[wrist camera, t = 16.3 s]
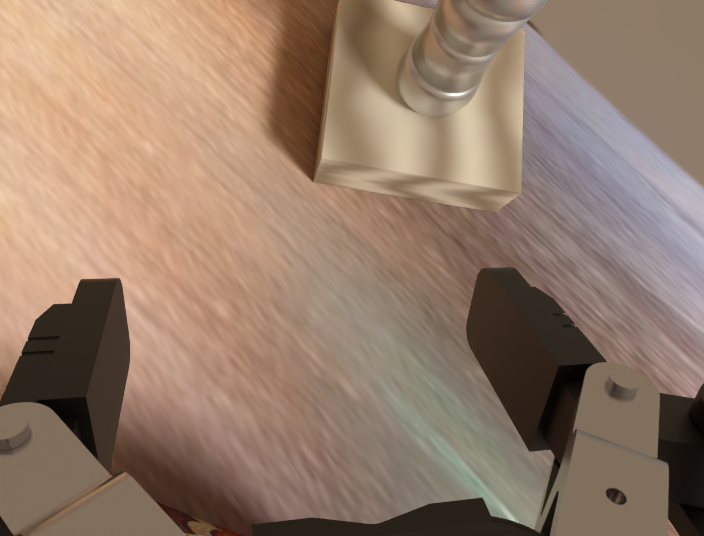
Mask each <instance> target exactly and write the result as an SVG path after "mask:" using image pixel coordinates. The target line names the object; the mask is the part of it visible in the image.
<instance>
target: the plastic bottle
mask: <svg viewBox="0 0 704 536" xmlns="http://www.w3.org/2000/svg"><path fill="white" fill-rule="evenodd" d="M547 1H548V0H438V2H437V5H436V7H435V9H434V11H433V14H432V16H431V18H430V19H429V21H428V22H427V24H426V25H425V26H424V28H423V29H422V31H421V32H420V34H419V35H418V36H417V37H416V38H415V39H414V40H413V41H412V42H411V44H410V45H409V46H408V47H407V49H406V50H405V51H404V53H403V54H402V56H401V58H400V61H399V64H398V69H397V74H396V84H397V88H398V91H399V94H400V95H401V97H402V98H403V100H404V101H405V102H406V104H407V105H408V106H409V107H410V108H412V109H413V110H414V111H416V112H418V113H419V114H422V115H425V116H429V117H435V118H439V117H447V116H450V115H453V114H455V113H456V112H458V111H459V110H460V109H462V108H463V107H464V106H466V105H467V104H468V103H469V102H470V101H471V100H472V99H473V97H474V95H475V93H476V91H477V89H478V87H479V85H480V83H481V80H482V77H483V74H484V73H485V71H486V69H487V68H488V66H489V64H490V63H491V61H492V59H493V58H494V56H495V54H496V53H497V52H498V51H499V50H500V49H501V47H502V46H503V45H504V44H505V43H506V42H507V41H508V39H509V38H510V37H511V36H512V35H513V34H514V33H515V32H516V31H517V30H518V29H519V28H521V27H522V26H523V25H524V24H525V23H526V22H527V21H528V20H529V19H530V18H531V17H532V16H534V15H535V14H536V13H537V12H538V11H539V10H540V9H541V8H542V7H543V6H544V4H545V3H546V2H547Z"/></svg>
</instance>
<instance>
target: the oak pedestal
mask: <svg viewBox="0 0 704 536" xmlns="http://www.w3.org/2000/svg"><path fill="white" fill-rule="evenodd" d="M433 11H434V9H430V8H425V7H421V6H416V5H412V4H407V3H403V2H398V1H394V0H339V2H338V5H337V9H336V13H335V17H334V21H333V25H332V32H331V41H330V49H329V57H328V65H327V73H326V82H325V90H324V98H323V106H322V114H321V123H320V131H319V139H318V147H317V155H316V164H315V172H314V180H313V182H317V183H322V184H328V185H334V186H340V187H346V188H352V189H358V190H364V191H370V192H376V193H382V194H388V195H394V196H400V197H406V198H412V199H418V200H424V201H430V202H436V203H442V204H448V205H454V206H460V207H466V208H472V209H478V210H484V211H490V212H497V211H498V210H500V209H501V208H502V207H503V206H505V205H506V204H507V203H509V202H510V201H511V200H513V199H514V198H515V197H516V196H518V195H519V194H520V193H521V172H522V128H523V84H524V40H525V30H523V29H518V30H517V31H516V32H515V33H514V34H513V35H512V36H511V37H510V38H509V39H508V41H507V42H506V43H505V44H504V45H503V46H502V47H501V49H500V50H499V51H498V52H497V53H496V54H495V56H494V58H493V59H492V61H491V63H490V64H489V66H488V68H487V69H486V71H485V73H484V74H483V77H482V80H481V83H480V85H479V87H478V89H477V91H476V93H475V95H474V97H473V99H472V100H471V101H470V102H469V103H468V104H467V105H466V106H464V107H463V108H462V109H460V110H459V111H458V112H456V113H455V114H453V115H450V116H447V117H439V118H435V117H429V116H425V115H422V114H419V113H418V112H416V111H414V110H413V109H412V108H410V107H409V106H408V105H407V104H406V102H405V101H404V100H403V98H402V97H401V95H400V94H399V91H398V88H397V84H396V74H397V69H398V64H399V61H400V58H401V56H402V54H403V53H404V51H405V50H406V49H407V47H408V46H409V45H410V44H411V42H412V41H413V40H414V39H415V38H416V37H417V36H418V35H419V34H420V32H421V31H422V29H423V28H424V26H425V25H426V24H427V22H428V21H429V19H430V18H431V16H432V14H433Z"/></svg>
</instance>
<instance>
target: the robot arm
mask: <svg viewBox="0 0 704 536" xmlns="http://www.w3.org/2000/svg"><path fill="white" fill-rule="evenodd" d="M466 331H467V339H468V343H469V346H470V348H471V350H472V352H473V353H474V355H475V357H476V359H477V360H478V362H479V364H480V366H481V367H482V369H483V371H484V373H485V374H486V376H487V378H488V380H489V381H490V383H491V385H492V387H493V389H494V390H495V392H496V394H497V396H498V397H499V399H500V401H501V403H502V404H503V406H504V408H505V410H506V411H507V413H508V415H509V417H510V418H511V420H512V422H513V424H514V425H515V427H516V429H517V431H518V433H519V434H520V436H521V438H522V440H523V441H524V443H525V445H526V447H527V448H528V450H529V452H530V451H540V450H550V449H551V451H552V452H553V454H554V458H553V461H552V463H551V466H550V469H549V474H548V478H547V482H546V486H545V490H544V494H543V498H542V502H541V506H540V510H539V514H538V518H537V522H536V526H535V530H533V529H531V528H529V527H527V526H524V525H522V524H519V523H516V522H513V521H511V520H507V519H503V518H498V517H493V516H491V515H490V513H489V511H488V509H487V506H486V504H485V502H484V500H483V498H476V499H467V500H459V501H450V502H441V503H433V504H428V505H425V506H423V507H420V508H418V509H415V510H413V511H410V512H407V513H405V514H402V515H400V516H397V517H395V518H392V519H390V520H387V521H384V522H382V523H379V524H364V523H355V522H346V521H338V520H329V519H320V518H305V519H296V520H288V521H279V522H270V523H262V524H253V525H252V536H668V519H669V520H670V522H671V523H672V525H673V526H674V528H675V529H676V531H677V532H678V534H679V535H680V536H704V384H703V385H702V386H701V387H700V389H699V391H698V393H697V395H696V397H695V399H693V398H687V397H681V396H675V395H669V394H663V393H659V392H658V389H657V388H656V386H655V385H654V384H653V383H652V382H651V381H650V380H649V379H648V378H647V377H646V376H644V375H643V374H641V373H640V372H638V371H636V370H634V369H632V368H630V367H627V366H625V365H621V364H617V363H610V362H607V361H606V360H605V359H604V358H603V357H602V355H601V354H600V353H599V352H598V351H597V349H596V348H595V347H594V346H593V345H592V344H591V342H590V341H589V340H588V339H587V338H586V336H585V335H584V334H583V333H582V332H581V331H580V329H579V328H578V327H575V324H574V322H573V321H572V320H571V319H570V318H569V316H566V315H565V312H564V311H563V309H562V308H561V307H560V306H559V305H558V303H557V302H556V301H555V300H554V299H553V298H551V297H550V296H548V295H547V294H545V293H544V292H542V291H541V290H539V289H538V288H536V287H530V285H529V284H528V283H527V282H526V280H525V279H524V278H523V277H522V276H521V274H520V273H519V272H518V271H517V270H516V269H515V268H513V267H505V268H483V269H481V270H480V272H479V273H478V276H477V280H476V284H475V288H474V293H473V297H472V302H471V306H470V310H469V315H468V319H467V326H466ZM129 363H130V339H129V331H128V324H127V317H126V310H125V303H124V295H123V288H122V283H121V280H120V279H119V278H110V279H82V280H81V281H80V282H79V285H78V288H77V290H76V293H75V296H74V299H73V301H72V304H53V305H52V306H51V307H50V308H49V309H48V310H47V311H45V312H44V313H43V314H42V315H41V316H40V317H39V318H37V319H36V320H35V323H34V325H33V327H32V330H31V332H30V334H29V337H28V341H26V343H25V346H24V348H23V350H22V356H20V357H19V360H18V362H17V364H16V366H15V369H14V371H13V373H12V376H11V378H10V380H9V383H8V385H7V387H6V390H5V392H4V394H3V396H2V399H1V401H0V536H186V535H185V533H184V532H183V531H182V530H181V529H180V528H179V527H178V526H177V525H176V524H175V523H174V522H173V520H172V519H171V518H170V517H169V516H168V515H167V514H166V513H165V512H164V511H163V510H162V509H161V507H160V506H159V505H158V504H157V503H156V502H155V501H154V500H153V499H152V498H151V497H150V496H149V495H148V493H147V492H146V491H145V490H144V489H143V488H142V487H141V486H140V485H139V484H138V483H137V482H136V480H135V479H134V478H133V477H132V476H130V475H129V474H128V473H126V472H123V471H120V472H119V473H117V474H115V475H114V476H112V475H110V474H109V470H110V465H111V459H112V454H113V449H114V443H115V438H116V433H117V428H118V422H119V417H120V412H121V407H122V401H123V396H124V391H125V385H126V380H127V375H128V370H129Z"/></svg>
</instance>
